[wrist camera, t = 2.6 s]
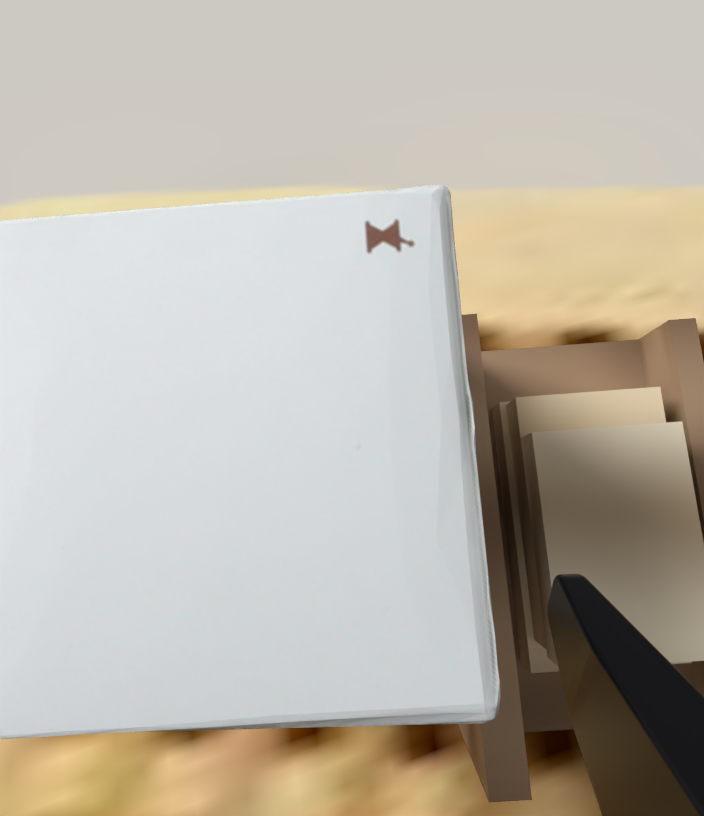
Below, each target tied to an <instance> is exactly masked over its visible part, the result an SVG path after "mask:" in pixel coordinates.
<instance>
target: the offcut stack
mask: <svg viewBox="0 0 704 816" xmlns="http://www.w3.org/2000/svg"><path fill="white" fill-rule="evenodd" d="M492 416H493V425H494V434H495V443H496V451H497V460H498V469H499V477H500V486H501V495H502V504H503V512H504V521H505V530H506V538H507V547H508V556H509V565H510V573H511V582H512V591H513V599H514V608H515V617H516V626H517V634H518V643H519V652H520V661H521V663H522V664H523V665H524V666H525V667H526V668H527V669H528V670H529V671H530V672H531V673H541V672H557V671H559V667H558V662H557V658H556V653H555V648H554V644H553V639H552V635H551V630H550V625H549V621H548V612H547V609H548V602H549V598H550V593H551V589H552V585H553V580H554V578H555V577H556V576H557V575H559V574H581V575H583V576H584V577H586V578H587V579H588V580H589V581H590V582H591V583H592V584H593V585H594V586H595V587H596V588H597V589H598V590H599V591H600V592H601V593H602V594H603V595H604V596H605V597H606V598H607V599H608V600H609V601H610V602H611V603H612V604H613V605H614V606H615V607H616V608H617V609H618V610H619V611H620V612H621V613H622V614H623V615H624V616H625V617H626V618H627V619H628V621H629V622H630V623H631V624H632V625H633V626H634V627H635V628H636V629H637V630H638V631H639V632H640V633H641V634H642V635H643V636H644V637H645V638H646V639H647V640H648V641H649V642H650V643H651V644H652V645H653V646H654V647H655V648H656V649H657V650H658V651H659V652H660V653H661V654H662V655H663V656H664V657H665V658H666V659H667V660H668V661H669V662H670V663H671V664H684V663H692V661H704V543H703V537H702V531H701V525H700V520H699V514H698V508H697V502H696V497H695V491H694V485H693V480H692V474H691V468H690V462H689V457H688V451H687V445H686V440H685V434H684V428H683V422H682V421H680V422H667V423H666V418H665V412H664V406H663V400H662V394H661V388H660V387H648V388H635V389H621V390H608V391H594V392H581V393H568V394H554V395H541V396H527V397H515V398H514V399H513V400H512V401H508V402H499V403H498V404H497V405H496V406H494V407H493V408H492Z"/></svg>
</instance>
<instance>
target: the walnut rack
mask: <svg viewBox="0 0 704 816" xmlns="http://www.w3.org/2000/svg"><path fill="white" fill-rule="evenodd" d="M462 325H463V335H464V345H465V354H466V364H467V374H468V382H469V387H470V392H471V397H472V401H473V412H474V425H475V442H476V458H477V468H478V478H479V488H480V498H481V508H482V517H483V527H484V537H485V547H486V557H487V566H488V576H489V586H490V596H491V605H492V614H493V622H494V631H495V641H496V652H497V664H498V672H499V680H500V697H501V698H500V705H499V711H498V714H497V716H496V717H495V718H494V719H493V720H491V721H490V722H486V723H483V724H458V725H459V728H460V730H461V733H462V735H463V738H464V741H465V743H466V746H467V748H468V751H469V753H470V756H471V758H472V761H473V763H474V766H475V768H476V771H477V773H478V776H479V778H480V781H481V783H482V786H483V788H484V791H485V793H486V796H487V798H488V801H489V802H501V801H519V800H532V798H531V789H530V781H529V772H528V763H527V754H526V745H525V737H524V732H539V731H555V730H572V729H573V725H572V722H571V719H570V715H569V711H568V707H567V703H566V699H565V694H564V690H563V685H562V680H561V676H560V671H557V672H541V673H531V672H530V671H529V670H528V669H527V668H526V667H525V666H524V665H523V664H522V663H521V661H520V652H519V643H518V634H517V626H516V617H515V608H514V599H513V591H512V582H511V573H510V565H509V556H508V547H507V538H506V530H505V521H504V512H503V504H502V495H501V486H500V477H499V469H498V460H497V451H496V443H495V434H494V425H493V416H492V408H493V407H494V406H496V405H497V404H498V403H499V402H508V401H512V400H513V399H514V398H515V397H527V396H541V395H554V394H568V393H581V392H594V391H608V390H621V389H635V388H648V387H660V388H661V394H662V400H663V406H664V412H665V418H666V423H667V422H680V421H682V422H683V428H684V434H685V440H686V445H687V451H688V457H689V462H690V468H691V474H692V480H693V485H694V491H695V497H696V502H697V508H698V514H699V520H700V525H701V531H702V537H703V543H704V362H703V357H702V351H701V346H700V341H699V335H698V330H697V324H696V319H695V318H692V319H679V320H668V321H667V322H665V323H664V324H662V325H661V326H659V327H658V328H656V329H654V330H653V331H651V332H650V333H648V334H647V335H645V336H644V337H642V338H640V339H639V340H627V341H614V342H601V343H588V344H575V345H561V346H548V347H535V348H522V349H509V350H496V351H483V352H481V348H480V339H479V331H478V322H477V314H469V315H462ZM672 665H673V666H674V667H675V668H676V669H677V670H678V671H679V672H680V673H681V674H682V675H683V676H684V677H685V678H686V679H687V680H688V681H689V682H690V683H691V684H692V685H693V686H694V687H695V688H696V689H697V690H698V691H699V692H700V693H701V694H702V695H703V696H704V661H692V663H684V664H672Z"/></svg>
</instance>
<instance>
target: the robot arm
mask: <svg viewBox="0 0 704 816" xmlns="http://www.w3.org/2000/svg"><path fill="white" fill-rule="evenodd" d="M547 612H548V621H549V625H550V630H551V635H552V639H553V644H554V648H555V653H556V658H557V662H558V667H559V671H560V676H561V680H562V685H563V690H564V694H565V699H566V703H567V707H568V711H569V715H570V719H571V722H572V725H573V729H574V732H575V735H576V738H577V741H578V744H579V747H580V750H581V753H582V756H583V759H584V762H585V765H586V768H587V771H588V774H589V777H590V780H591V783H592V786H593V789H594V792H595V795H596V798H597V801H598V804H599V807H600V810H601V813H602V816H704V696H703V695H702V694H701V693H700V692H699V691H698V690H697V689H696V688H695V687H694V686H693V685H692V684H691V683H690V682H689V681H688V680H687V679H686V678H685V677H684V676H683V675H682V674H681V673H680V672H679V671H678V670H677V669H676V668H675V667H674V666H673V665H672V664H671V663H670V662H669V661H668V660H667V659H666V658H665V657H664V656H663V655H662V654H661V653H660V652H659V651H658V650H657V649H656V648H655V647H654V646H653V645H652V644H651V643H650V642H649V641H648V640H647V639H646V638H645V637H644V636H643V635H642V634H641V633H640V632H639V631H638V630H637V629H636V628H635V627H634V626H633V625H632V624H631V623H630V622H629V621H628V619H627V618H626V617H625V616H624V615H623V614H622V613H621V612H620V611H619V610H618V609H617V608H616V607H615V606H614V605H613V604H612V603H611V602H610V601H609V600H608V599H607V598H606V597H605V596H604V595H603V594H602V593H601V592H600V591H599V590H598V589H597V588H596V587H595V586H594V585H593V584H592V583H591V582H590V581H589V580H588V579H587V578H586V577H584V576H583V575H581V574H559V575H557V576H556V577H555V578H554V580H553V585H552V589H551V593H550V598H549V602H548V609H547Z"/></svg>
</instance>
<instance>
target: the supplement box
mask: <svg viewBox="0 0 704 816" xmlns="http://www.w3.org/2000/svg"><path fill="white" fill-rule="evenodd" d="M500 698H501V697H500V680H499V672H498V664H497V652H496V641H495V631H494V622H493V614H492V605H491V596H490V586H489V576H488V566H487V557H486V547H485V537H484V527H483V517H482V508H481V498H480V488H479V478H478V468H477V458H476V442H475V425H474V412H473V401H472V397H471V392H470V387H469V382H468V374H467V364H466V354H465V345H464V335H463V325H462V315H461V305H460V294H459V283H458V272H457V262H456V253H455V243H454V233H453V220H452V207H451V195H450V191H449V190H448V189H447V188H446V187H445V186H444V185H443V184H438V185H428V186H419V187H410V188H400V189H390V190H380V191H367V192H354V193H340V194H327V195H315V196H302V197H290V198H278V199H266V200H253V201H238V202H224V203H213V204H203V205H190V206H176V207H163V208H150V209H138V210H126V211H114V212H102V213H91V214H79V215H61V216H54V217H35V218H26V219H15V220H4V221H0V739H9V738H27V737H45V736H63V735H80V734H98V733H117V732H143V731H188V730H225V729H263V728H298V727H345V726H383V725H425V724H483V723H486V722H490V721H491V720H493V719H494V718H495V717H496V716H497V714H498V711H499V705H500Z"/></svg>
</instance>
